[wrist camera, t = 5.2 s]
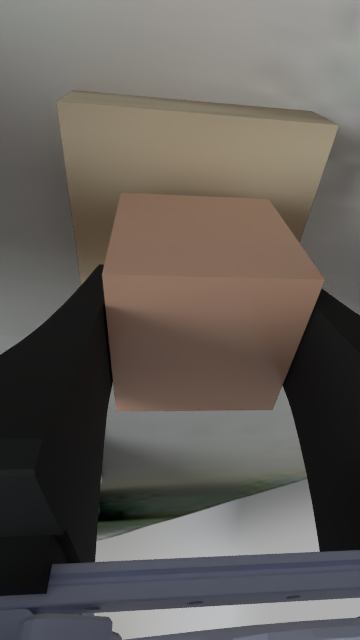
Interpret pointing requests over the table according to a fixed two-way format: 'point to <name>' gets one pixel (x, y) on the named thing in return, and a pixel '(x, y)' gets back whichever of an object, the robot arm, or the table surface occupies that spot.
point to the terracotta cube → (203, 302)
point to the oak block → (184, 158)
